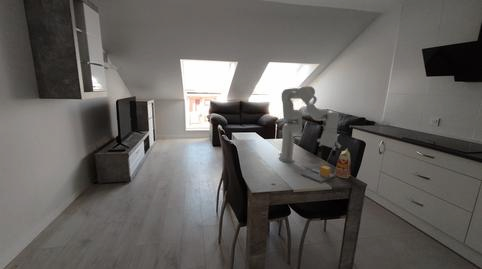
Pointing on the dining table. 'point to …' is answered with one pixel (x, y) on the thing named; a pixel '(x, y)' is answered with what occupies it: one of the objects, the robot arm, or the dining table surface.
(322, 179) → the plate
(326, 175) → the amber toy cube
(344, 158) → the milk carton
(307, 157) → the dining table surface
